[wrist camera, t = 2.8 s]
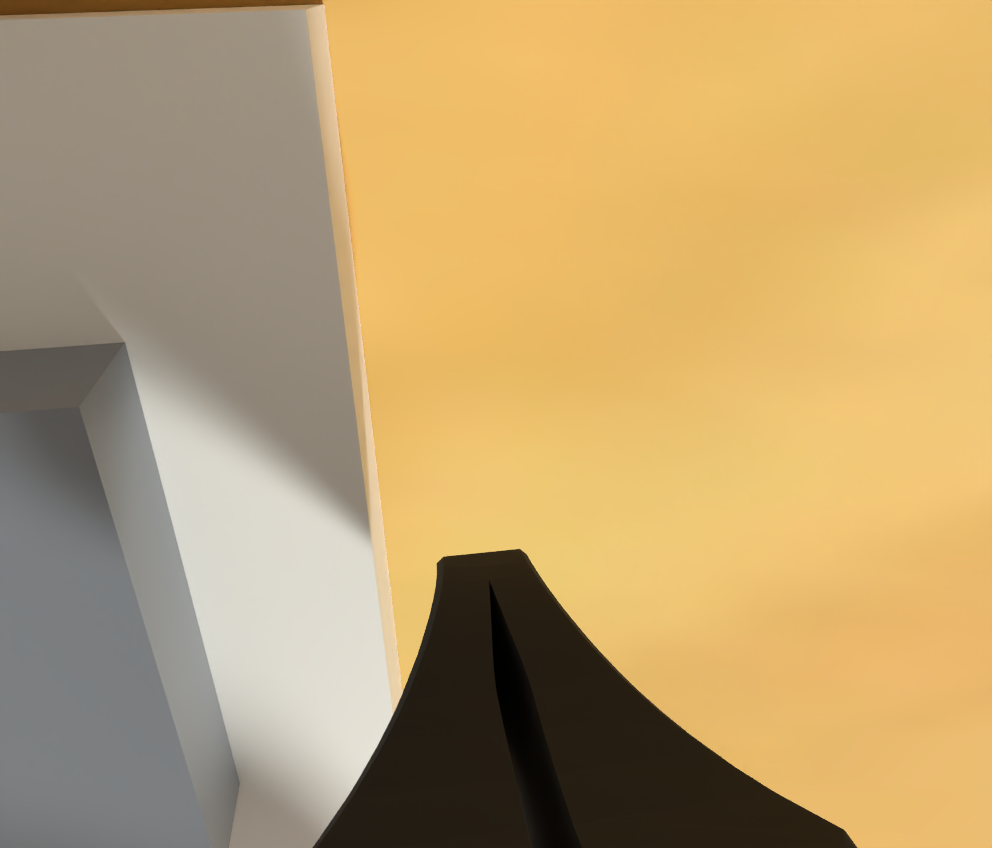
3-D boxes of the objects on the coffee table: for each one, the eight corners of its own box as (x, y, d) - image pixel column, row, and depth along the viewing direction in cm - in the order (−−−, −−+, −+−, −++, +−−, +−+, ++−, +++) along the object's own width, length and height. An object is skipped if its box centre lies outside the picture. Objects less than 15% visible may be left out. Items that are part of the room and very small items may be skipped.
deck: (407, 741, 21) (414, 890, 18) (-85, 803, 20) (-182, 975, 17) (324, 4, 13) (306, 9, 10) (-504, 32, 12) (-865, 51, 9)
